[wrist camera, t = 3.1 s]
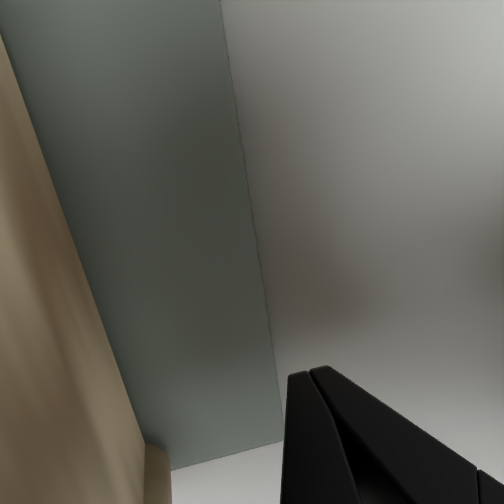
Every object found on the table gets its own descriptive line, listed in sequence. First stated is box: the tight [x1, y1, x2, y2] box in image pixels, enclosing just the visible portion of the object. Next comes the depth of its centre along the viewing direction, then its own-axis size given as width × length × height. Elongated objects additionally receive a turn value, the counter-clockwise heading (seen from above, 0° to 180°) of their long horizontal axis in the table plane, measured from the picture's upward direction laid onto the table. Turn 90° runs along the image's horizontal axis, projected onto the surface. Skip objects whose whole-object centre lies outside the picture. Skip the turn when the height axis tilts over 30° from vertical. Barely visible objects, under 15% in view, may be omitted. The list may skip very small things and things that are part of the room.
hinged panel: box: [0, 35, 172, 504], centre depth 8 cm, size 13×2×6 cm, turn 8°
